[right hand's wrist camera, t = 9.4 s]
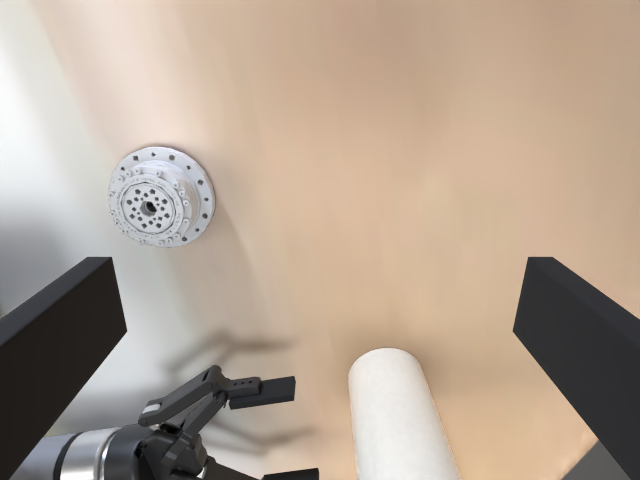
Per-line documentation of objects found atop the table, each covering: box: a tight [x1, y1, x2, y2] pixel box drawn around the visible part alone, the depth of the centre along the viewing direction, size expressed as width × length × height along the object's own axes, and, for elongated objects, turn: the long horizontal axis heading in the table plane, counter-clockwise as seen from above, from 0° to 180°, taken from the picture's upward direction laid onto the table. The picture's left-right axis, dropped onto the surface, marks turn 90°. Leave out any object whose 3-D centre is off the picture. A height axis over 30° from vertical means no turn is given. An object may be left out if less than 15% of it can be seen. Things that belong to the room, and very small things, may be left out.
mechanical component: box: [108, 147, 215, 248], centre depth 37 cm, size 10×4×10 cm
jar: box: [348, 348, 462, 480], centre depth 39 cm, size 9×9×19 cm
